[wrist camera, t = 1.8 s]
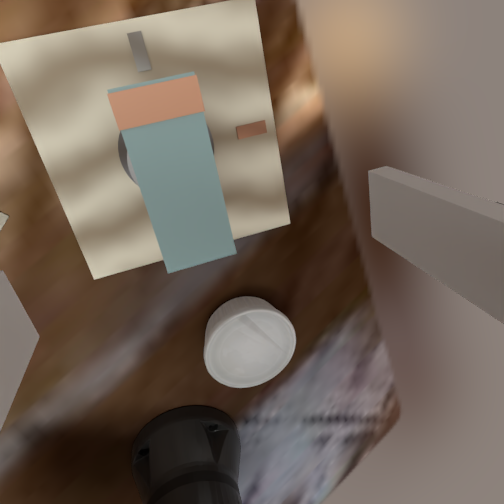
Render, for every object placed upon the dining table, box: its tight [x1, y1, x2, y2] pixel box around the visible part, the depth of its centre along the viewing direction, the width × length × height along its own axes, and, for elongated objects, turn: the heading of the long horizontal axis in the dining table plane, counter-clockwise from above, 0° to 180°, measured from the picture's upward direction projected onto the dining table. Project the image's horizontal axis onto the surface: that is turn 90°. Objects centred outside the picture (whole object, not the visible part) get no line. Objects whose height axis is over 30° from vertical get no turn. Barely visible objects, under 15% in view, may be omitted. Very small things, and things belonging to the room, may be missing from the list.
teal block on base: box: [107, 71, 237, 273], centre depth 30 cm, size 12×7×14 cm, turn 11°
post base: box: [0, 0, 290, 280], centre depth 37 cm, size 22×22×2 cm
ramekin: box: [204, 296, 296, 388], centre depth 47 cm, size 11×11×5 cm
